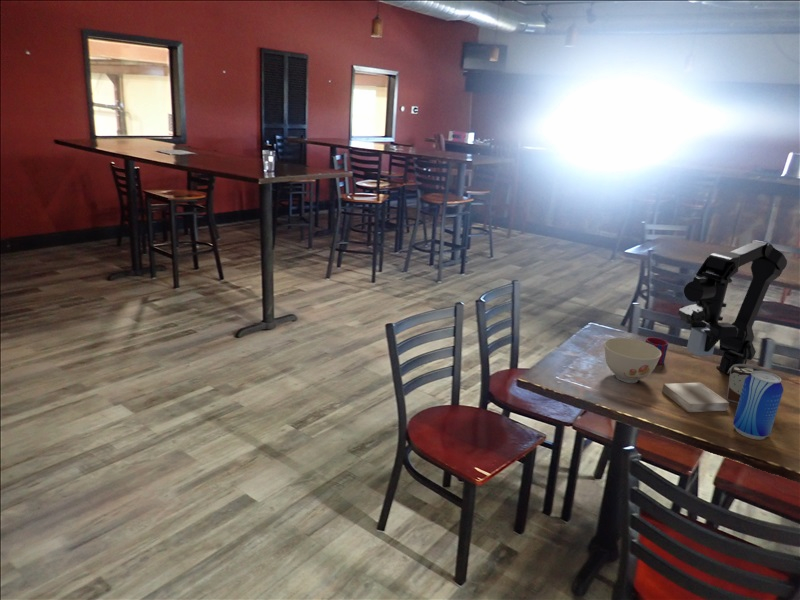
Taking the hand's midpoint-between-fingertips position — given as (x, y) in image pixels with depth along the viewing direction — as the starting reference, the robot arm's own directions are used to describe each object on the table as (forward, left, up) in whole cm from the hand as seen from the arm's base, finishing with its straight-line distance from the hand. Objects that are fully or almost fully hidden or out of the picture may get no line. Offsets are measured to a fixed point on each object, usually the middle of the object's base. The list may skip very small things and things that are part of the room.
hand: (700, 347), depth 172 cm
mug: (+1, -18, -12) cm, 22 cm away
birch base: (+7, +10, -12) cm, 17 cm away
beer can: (+3, +27, -12) cm, 30 cm away
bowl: (+19, -5, -12) cm, 23 cm away
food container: (-9, +11, -12) cm, 19 cm away
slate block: (0, 0, -2) cm, 2 cm away
